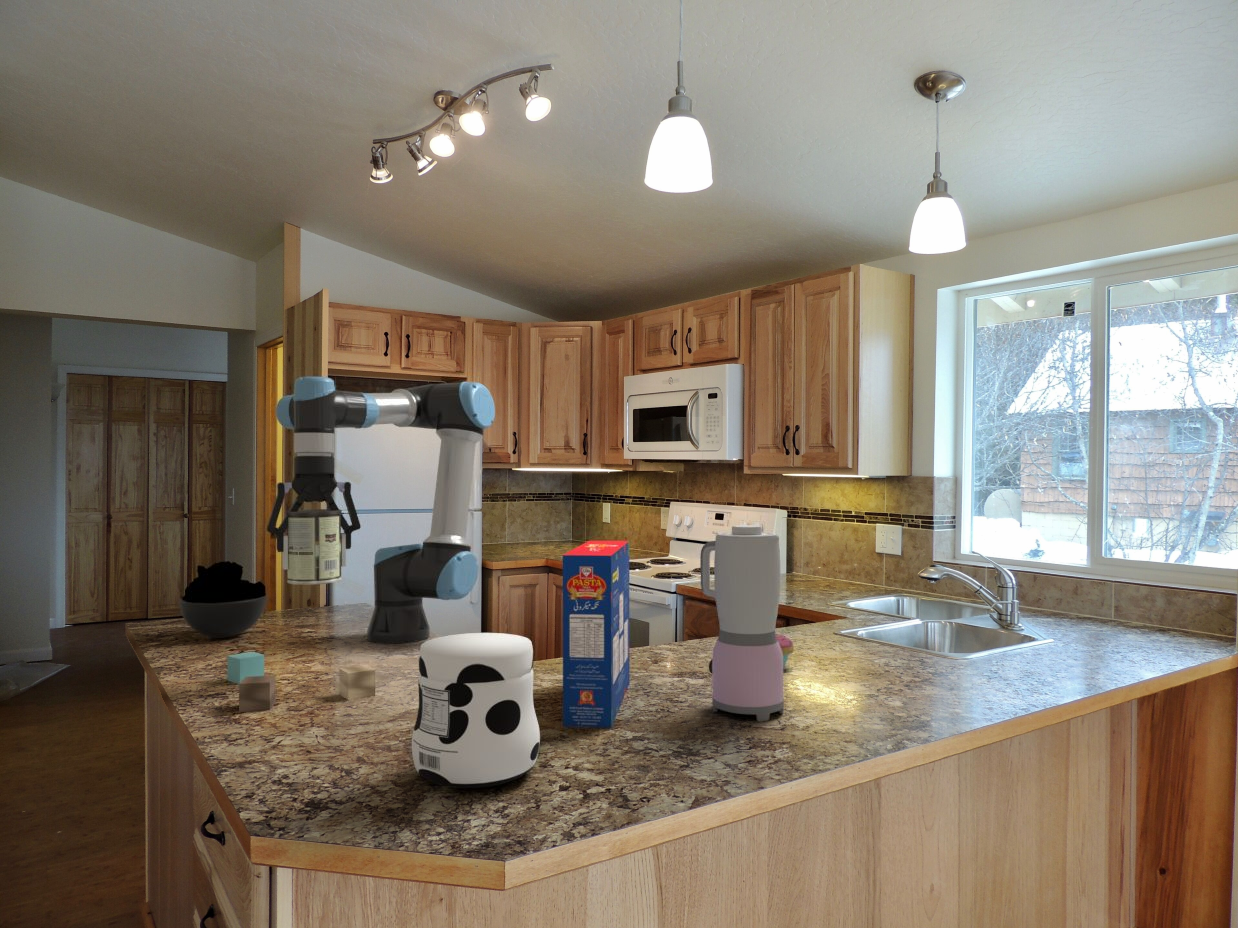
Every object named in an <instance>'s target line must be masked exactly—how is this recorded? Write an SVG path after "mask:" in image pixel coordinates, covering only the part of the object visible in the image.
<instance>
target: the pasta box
mask: <svg viewBox="0 0 1238 928" xmlns="http://www.w3.org/2000/svg"><path fill="white" fill-rule="evenodd" d="M630 645H631V644H630V540H587V541H586V542H584V543H583V544H581V545H578V546H576V547H575V548H573V549H571V550H569V551H568V552H566V553H564V554H562V726H563V727H580V728H581V727H583V728H605V729H606V728H608V729H612V728H613V725H614V722H615V721H616V718H617V715H618V713H619V710H620V708H621V705H622V704H623V700H624V698H625V696H626V693H627V691H628V689H629V686H630V681H631V679H630V677H631V675H630V667H631V666H630V663H631V661H630V658H631V657H630Z"/></svg>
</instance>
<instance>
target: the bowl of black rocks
mask: <svg viewBox="0 0 1238 928" xmlns="http://www.w3.org/2000/svg"><path fill="white" fill-rule="evenodd" d="M196 568H197V569H196V571H197V576H198V577H195V578H194V579H193V580H192V582H190V583H189V586H186V587H185V589H184V595H183V597H182V598H180V599H179V601H178V605H179V606H178V607H179V609H180V613H181V615H182V617H183V619H184V621H185V623H187V624H188V626H189V627H190V628H192V629H193V630H194V631H195V632H198V633H199V634H201V635H204V636H206V637H209V638H210V637H211V638H214V639H225V638H231V637H235V636H239V635H240V634H242V633H244V632H246V631H248V630H249V629H250V628H252V627H253V626H254V625H255V624H256V623H257V622H258V621H259V619H260V618H261V617H262V615H263V613H264V611H265V609H266V606H267V601H268V594H267V593H266V591H267V590H266V586H265V584H264V583H263V582H262V581H259V580H258V581H256V582H254V583H253V582H251V581H249V580H248V579H242V578H243V577H242V576H243V573H244V570H243V568H244V566H242V565H241V564H238V563H236V562H235V561H232V562H231V560H226V561H219V562H215V563H213V564H212V565H210V566H208V567H207V568H206V567H205V566H204V565H197V567H196Z"/></svg>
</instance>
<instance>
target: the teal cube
mask: <svg viewBox="0 0 1238 928" xmlns="http://www.w3.org/2000/svg"><path fill="white" fill-rule="evenodd" d="M226 659H227V665H226V666H227V667H226V669H227V671H226V672H227V674H226V675H227V677H226V679H227V680H228V682H230V681H231V683H234V684H237V685H239V684H240V682H241V681H242V680H243V679H244V678H245V677H253V676H265V654H262V653H259V652H255V651H249V652H242V653H237V654H230V655H227V658H226ZM227 680H226V681H227Z"/></svg>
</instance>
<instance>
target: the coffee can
mask: <svg viewBox="0 0 1238 928" xmlns="http://www.w3.org/2000/svg"><path fill="white" fill-rule="evenodd" d="M341 513H342V509H339V510H336V511H331V510H330V508H327V509H326V508H325V509H324V508H321V509H320V508H319V509H317V508H316V509H315V508H314V509H313V508H312V509H299V510H298V511H297V512H289V510H287V511H286V512H285V516H286V515H288V525H289V526H288V528H287V529H286V535H287V536H288V569H286V570H287V573H286V574H287V577H286V578H287V581H286V583H287V584H290V585H301V586H303V585H304V586H306V585H326V584H333V583H337V582H340V581H342V566H341V533H342V527H341ZM342 514H343V513H342Z"/></svg>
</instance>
